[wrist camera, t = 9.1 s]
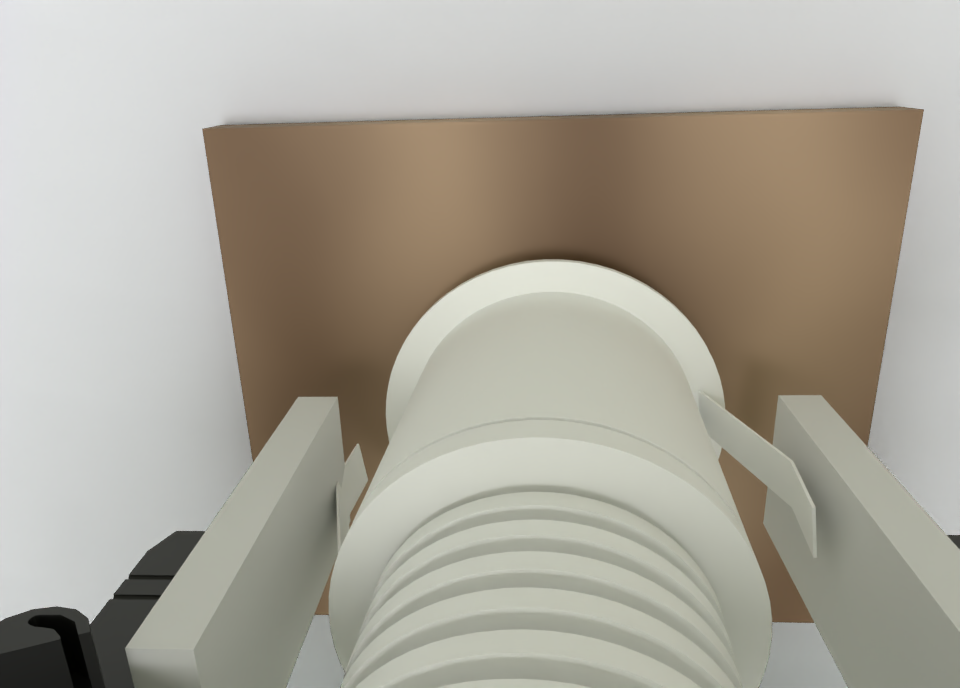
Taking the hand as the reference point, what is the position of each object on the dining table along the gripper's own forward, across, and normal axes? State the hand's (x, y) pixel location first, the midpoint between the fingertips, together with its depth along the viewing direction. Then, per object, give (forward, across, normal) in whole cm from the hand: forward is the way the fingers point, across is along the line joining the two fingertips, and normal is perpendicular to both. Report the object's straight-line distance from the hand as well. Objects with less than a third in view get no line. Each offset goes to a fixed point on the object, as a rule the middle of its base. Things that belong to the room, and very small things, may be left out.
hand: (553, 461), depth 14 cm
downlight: (+2, 0, 0) cm, 2 cm away
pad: (+4, 0, 0) cm, 4 cm away
